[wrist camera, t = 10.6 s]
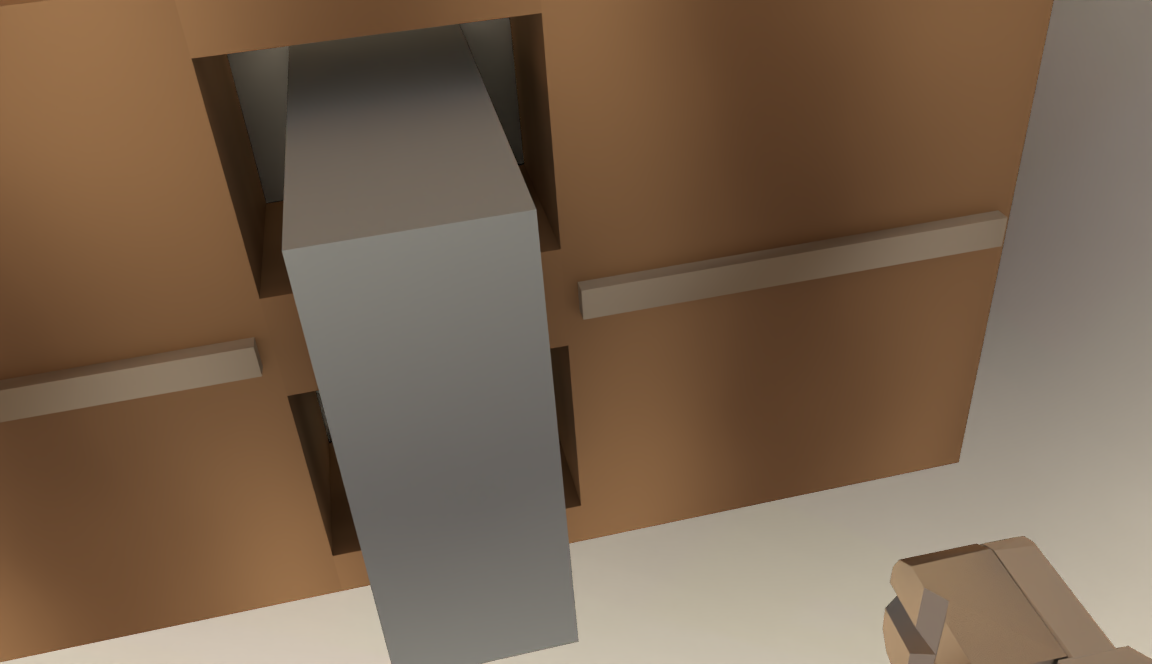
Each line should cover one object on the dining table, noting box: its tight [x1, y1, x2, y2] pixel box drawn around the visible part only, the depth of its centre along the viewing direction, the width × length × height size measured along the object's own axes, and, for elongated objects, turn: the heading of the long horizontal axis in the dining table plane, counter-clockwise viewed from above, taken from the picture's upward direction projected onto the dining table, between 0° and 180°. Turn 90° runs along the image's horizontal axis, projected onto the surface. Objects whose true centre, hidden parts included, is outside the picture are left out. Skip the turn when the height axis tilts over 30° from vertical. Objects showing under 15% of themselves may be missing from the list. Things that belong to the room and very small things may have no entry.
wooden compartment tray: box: [0, 0, 1054, 662], centre depth 19 cm, size 22×12×4 cm, turn 93°
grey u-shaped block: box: [282, 24, 579, 664], centre depth 17 cm, size 3×8×8 cm, turn 4°
